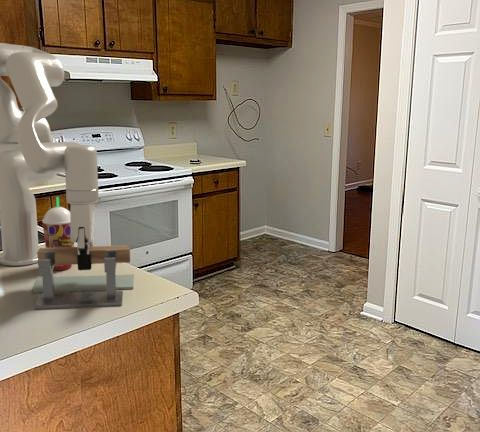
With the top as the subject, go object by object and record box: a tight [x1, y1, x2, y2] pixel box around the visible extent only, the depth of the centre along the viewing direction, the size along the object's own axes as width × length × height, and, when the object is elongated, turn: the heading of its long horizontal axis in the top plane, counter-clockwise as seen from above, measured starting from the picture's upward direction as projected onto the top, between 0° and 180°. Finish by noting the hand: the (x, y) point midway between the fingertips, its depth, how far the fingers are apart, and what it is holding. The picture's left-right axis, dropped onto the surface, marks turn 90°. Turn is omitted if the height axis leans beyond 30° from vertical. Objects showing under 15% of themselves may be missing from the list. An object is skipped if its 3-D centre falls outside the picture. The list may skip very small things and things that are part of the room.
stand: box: [34, 250, 124, 310], centre depth 114 cm, size 7×19×11 cm, turn 101°
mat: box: [31, 274, 135, 294], centre depth 126 cm, size 9×24×1 cm, turn 101°
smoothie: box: [41, 196, 75, 271], centre depth 136 cm, size 8×8×20 cm
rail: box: [37, 245, 131, 267], centre depth 124 cm, size 4×22×4 cm, turn 101°
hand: (85, 266), depth 125 cm, fingers closed on rail, 3 cm apart
